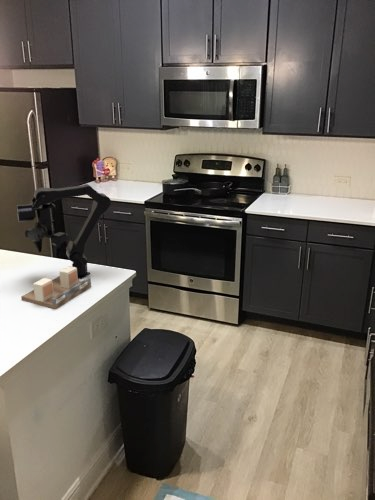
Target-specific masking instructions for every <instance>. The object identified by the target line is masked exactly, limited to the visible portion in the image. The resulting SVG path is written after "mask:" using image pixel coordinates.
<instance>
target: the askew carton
mask: <svg viewBox="0 0 375 500" xmlns="http://www.w3.org/2000/svg"><path fill="white" fill-rule="evenodd" d="M59 276H60V281H61V287H64V288H68V289H69V288H71V287H72V286H74V285H76V284H77V283H78V281H79V278H78V276H77V268H76V267H72V266H70V265H69V266H67V267H64V268H63V269H61V270H59Z"/></svg>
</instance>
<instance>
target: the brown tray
mask: <svg viewBox="0 0 375 500" xmlns="http://www.w3.org/2000/svg"><path fill="white" fill-rule="evenodd" d="M51 280H52V282H53V292H54V296H53V297H51V298H49V299H48V300H46V301H44V302H41V301H37V300H35V294H34V289H32V290H31V291H29V292H26V293H25V294H23V295H21V301H25V302H29V303H31V304H36V305H38V306H43V307H45V308H46V307H47V308H50V309H53V310H57V309H58V308H60V307H61V306H63V305H64V304H66V303H68V302H69V301H71V300H73V299H74V298H76V297H78V296H79V295H80V294H83V293H84V292H85V291H87V290H89V289H90V288H92V279H91V277H87V278H84V280H82V281H81V280H78V283H77V284H76V285H74V286H72V287H71V288H69V289H68V288H64V287H61V281H60V275H59V276H57V277H55V278H53V279H51Z"/></svg>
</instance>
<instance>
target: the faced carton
mask: <svg viewBox="0 0 375 500" xmlns="http://www.w3.org/2000/svg"><path fill="white" fill-rule="evenodd" d="M52 280H53V279H50V278H46V277H43V278H41V279H39V280H37V281H35V282H34V283H33V284H32V285H33V290H34V294H35V300H37V301H41V302H44V301H46V300H48V299H49V298H51V297H53V296H54V292H53V282H52Z"/></svg>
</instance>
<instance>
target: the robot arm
mask: <svg viewBox="0 0 375 500" xmlns="http://www.w3.org/2000/svg"><path fill="white" fill-rule="evenodd" d="M81 196H88V197H89V198H91V199H92V200H93V201H92V205H91V210H90V213H89V214H88V217H87V218H86V219H85V222H84V224H83V226H82V228H81V229H80V231H79V233H78V235H77V237H76V238H75V240H74V241H72V240H69V234H68V233H67V232H61V231H59V232H56V229H54V225H53V224H55V220H54V219H53V217H52V209H56V205H55V204H54V203H53V202H55V201H57V200H60V199H68V198H74V197H81ZM111 205H112V201H111V198H110V197H109V196H107V194H105V193H103V192H102V193H100V192H99V191H97V190H95V188H93V187H92V186H91V185H90V184H88V183H86V184H84V183H83V184H82V185H75V186H68V187H67V186H66V187H60V188H59V187H58V188H52V187H51V188H50V187H38V188H36V190H34V192H33V197H32V199H31V200H30V202H29V203H28V204H27V203H26V204H17V205H16V215H17V221H18V223H21V222H29V221H34V220H35V218H36V219H37V221H35V223H34V224H35V225H34V226H33V227H31V228H28V229H26V230H25V231H24V235H25V237H26V238H27V239H28V240H30V241H32V242H33V244H34V245H35V247H36V249H37V252H38V253H41V252H42V249H43V239H44V238H49V239H50V240H51V244H52V245H53V247H54V249H53V250H54V254H55V257H58V256H59V254H60V251H61V249H62V247H63V245H64V242H66V241H68V240H69V242H68V245H67V246H65V249H66V251H65V253H66V254H65V255H66V256H67V258H68V259H69V260H70V262H71V265H72V266H71V267H76V268H77V276H78V279H85V277H88V276H90V275H91V272H89V271H88V262H89V260H88V259H87V256H85V247H86V244H87V241H88V240H89V238H90V236H91V234H92V232H94V231H93V230H94V229H95V227H96V225H97V223H98V222H99V220H100V218H101V217H102V216H103V215H104V214H105V213H106V212H107V211H109V208H110V207H111Z"/></svg>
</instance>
